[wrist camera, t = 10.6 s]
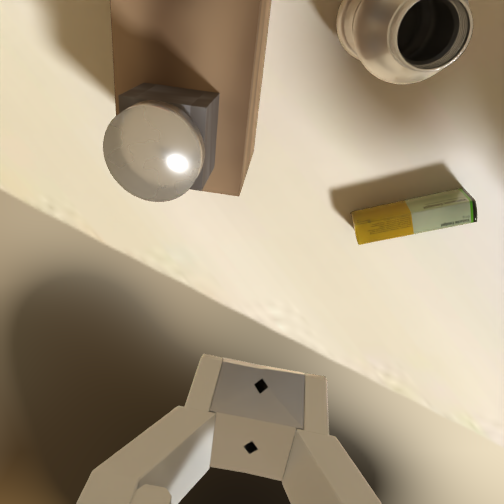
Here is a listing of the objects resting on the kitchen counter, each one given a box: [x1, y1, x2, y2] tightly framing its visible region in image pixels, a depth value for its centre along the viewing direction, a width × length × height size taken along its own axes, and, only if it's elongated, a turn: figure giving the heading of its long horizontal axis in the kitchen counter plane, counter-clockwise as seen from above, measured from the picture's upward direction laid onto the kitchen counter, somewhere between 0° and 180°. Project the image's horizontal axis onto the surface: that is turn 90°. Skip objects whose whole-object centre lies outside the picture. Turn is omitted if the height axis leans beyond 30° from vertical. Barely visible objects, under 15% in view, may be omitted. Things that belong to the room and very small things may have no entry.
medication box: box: [351, 188, 477, 245], centre depth 45 cm, size 12×3×4 cm, turn 107°
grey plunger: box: [103, 100, 205, 202], centre depth 29 cm, size 6×6×6 cm
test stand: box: [110, 0, 271, 196], centre depth 32 cm, size 10×22×17 cm, turn 174°
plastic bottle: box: [336, 0, 473, 84], centre depth 29 cm, size 6×7×20 cm
